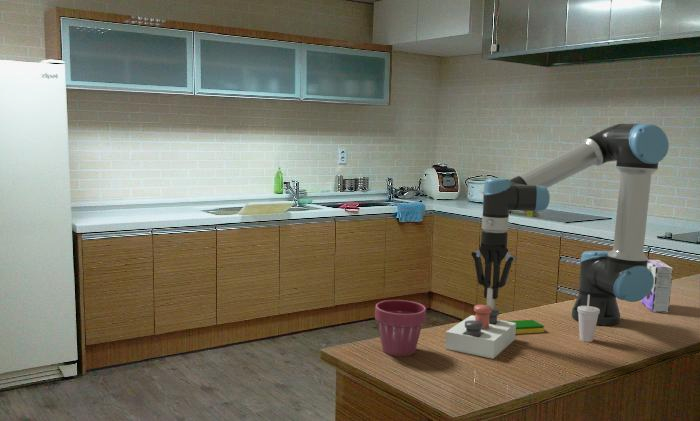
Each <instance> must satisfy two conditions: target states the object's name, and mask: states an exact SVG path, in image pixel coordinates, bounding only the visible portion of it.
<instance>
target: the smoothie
mask: <svg viewBox="0 0 700 421" xmlns="http://www.w3.org/2000/svg"><path fill="white" fill-rule="evenodd" d="M589 300H590V295H589V294H588V300H587V306H579V307H578V308H577V311H578V317H579V321H578V328H579V330H578V331H579V332H578V333H579V341H581V340H582V341H581V342H585V341H586V343H591V342H594V336H595V332H596V329H597V328H596V327H597V325H596V324H597V319H598V314H599V313H600V309H598V308H596V307H592V306H589Z"/></svg>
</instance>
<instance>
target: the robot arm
mask: <svg viewBox="0 0 700 421" xmlns="http://www.w3.org/2000/svg"><path fill="white" fill-rule="evenodd" d="M669 148H670V144H669V138H668V136H667V134H666V132H665V131H664V130H663V129H662V128H661V127H660V126H658V125H656V124H654V123H653V124H652V123H645V122H643V123H640V122H639V123H619V124H614V125H611V126H609V127H607V128H605V129H603V130H601V131H599V132H596V133H595V134H593V135H591V136H588V137H586V138H584V140H583V142H582V144H579V145H577V146H576V147H574V148H571V149H570V150H568V151H566V152H563V153H562V154H559V155H558V156H556V157H554V158H552V159H550V160H547V161H545V162H543V163H541V164H539V165H538V166H535V167H534V168H532V169H529V170H528V171H526V172H524V173H521V174H519V175H518V176H514V177H513V178H506V177H504V178H503V177H488V178H486V179H485V180H484V185H483V193H482V194H483V198H482V199H483V202H482V206H483V207H482V217H481V220H482V221H481V229H482V231H480V232H481V235H480V236H481V237H480V246H479V248H478V249H477V250H475V251H473V252H471V257H472V259H473V260H474V265H475V272H476V278H477V282H478V285H480V286H483V287H484V288H483V297H484V298H486V305H488V306H491V307H492V309H494V308H495V300H497V299H498V298H499V289H500V288H503V287H504V286H506V283H507V280H508V277H509V273H510V270H511V266H512V264H513V262H514V261H515V260H516V256H515V255H512V254H511V253H510V252H509V249H508V237H509V236H508V232H507V231H508V230H509V219H510V218H509V217H510V211H511V212H513V211H516V212H517V211H519V212H520V211H522V212H524V211H525V212H538V211H539V212H540V211H545V210H546V209H547V208H548V206H549V204H550V197H551V196H550V191H549V190H548V188H550V187H552V186H553V185H556V184H558V183H560V182H561V181H564V180H566V179H569V178H570V177H573V176H574V175H576V174H578V173H580V172H582V171H584V170H586V169H588V168H590V167H592V166H596V167H597V166H601V165H604V164H605V163H606V164H607V163H608V162H609V163H610V162H616V168H617V170H618V171H619V172H620V179H619V188H618V189H619V190H618V197H617V199H618V200H617V207H616V216H615V218H616V219H615V226H614V229H615V230H614V236H613V237H614V238H613V248H612V250H585V251H583V252H582V254H581V256H580V257H581V258H580V268H579V284H578V285H579V286H578V294H577V296H576V299H575V302H574V305H573V306H572V309H571V318H573V320H576V321H578V322H579V317H578V311H577V308H578V307H579V306H587V300H588V294H589V295H590V300H589V306H592V307H596V308H598V309H600V313H599V314H598V319H597V324H596V326H614V325H618V324H619V323H621V313H620V309H619V305H618V301H617V299H618V300H621V301H625V302H628V303H629V302H630V303H636V302H639V301H640V302H641V300H642V299H643V298H644V297H645V296H647V295H648V294H649V293H650V291H651V290H652V287H653V284H654V277H653V274H652V273H651V271H650V270H649V269H648V268H647V263H648V260H649V259H648V257H647V256H646V254H645V253H644V248H645V238H646V230H647V229H646V228H647V220H648V211H649V201H650V193H651V192H650V191H651V190H650V189H651V184H652V182H651V181H652V175H653V174H654V173H655V172H656V171H659V170H658V168H659V163H660V162H661V161H662V160H664V158H665V157H666V156H667V154H668V151H669ZM481 257H482V258H483V259H484V267H483V262H482V258H481ZM504 258H505V261H506V262H505V264H504V266H503V270H502V273H501V265H502V261H503V259H504ZM492 267H493V268H492ZM483 268H484V269H483ZM492 269H493V271H492ZM500 273H501V274H500ZM491 281H492V282H491ZM491 285H492V286H491Z"/></svg>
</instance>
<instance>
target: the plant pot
mask: <svg viewBox="0 0 700 421" xmlns="http://www.w3.org/2000/svg"><path fill="white" fill-rule="evenodd" d="M374 308H375V310H374V319H375V321H377V323H378V330H379V336H380V342H381V348H382V352H384V353H385V354H387V355H390V356H393V355H394V356H395V357H407V356H406V355H408V356H412V355H414V354H415V353H416V351H417V350H416V349H417V346H418V343H419V338H420V334H421V330H422V327H423V324H425V322H426V319H427V308H426V306H425V305H423V304H422V303H419V302H415V301H411V300H403V299H389V300H382V301H379V302H377V303H376V304H375V307H374ZM413 353H414V354H413ZM411 354H412V355H411Z"/></svg>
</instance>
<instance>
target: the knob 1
mask: <svg viewBox="0 0 700 421" xmlns="http://www.w3.org/2000/svg"><path fill="white" fill-rule="evenodd" d="M465 328H466V335H469V336H474V337H480V336H481V329H483V323H482V322H480V321H474V320H469V321H465Z"/></svg>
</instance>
